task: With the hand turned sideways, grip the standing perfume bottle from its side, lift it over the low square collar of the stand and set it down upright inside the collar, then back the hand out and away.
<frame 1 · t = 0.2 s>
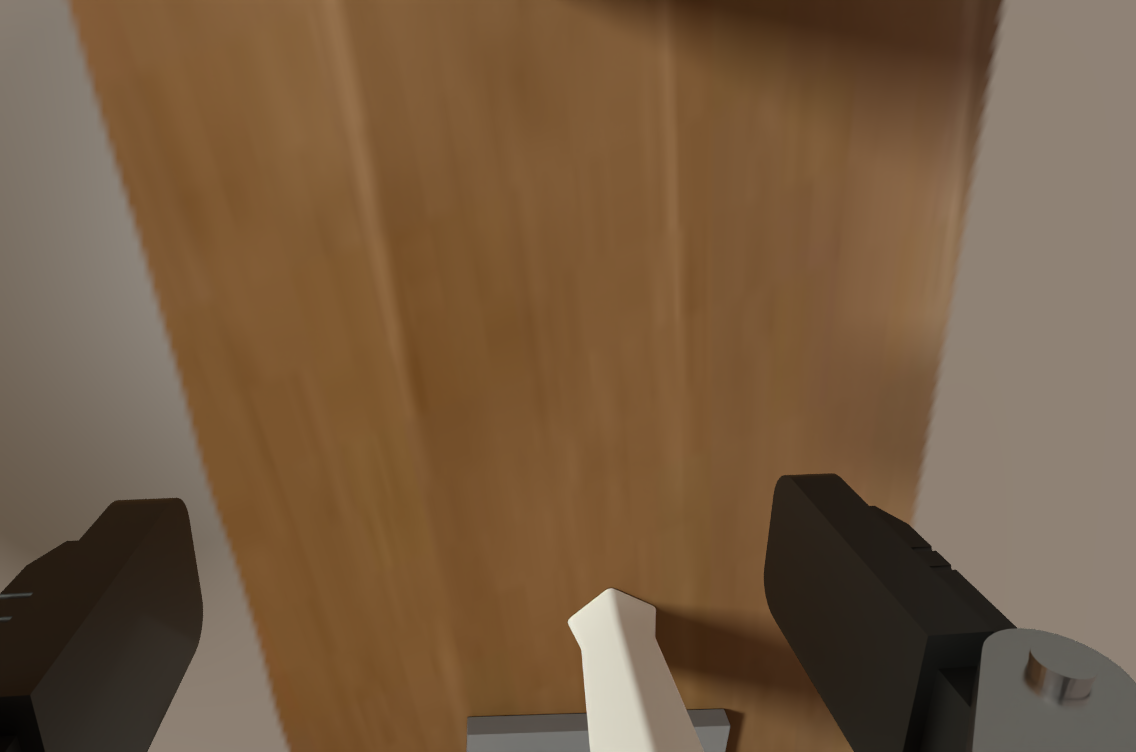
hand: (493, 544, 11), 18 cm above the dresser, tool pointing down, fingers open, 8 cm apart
perfume bottle: (607, 622, 34), on the dresser
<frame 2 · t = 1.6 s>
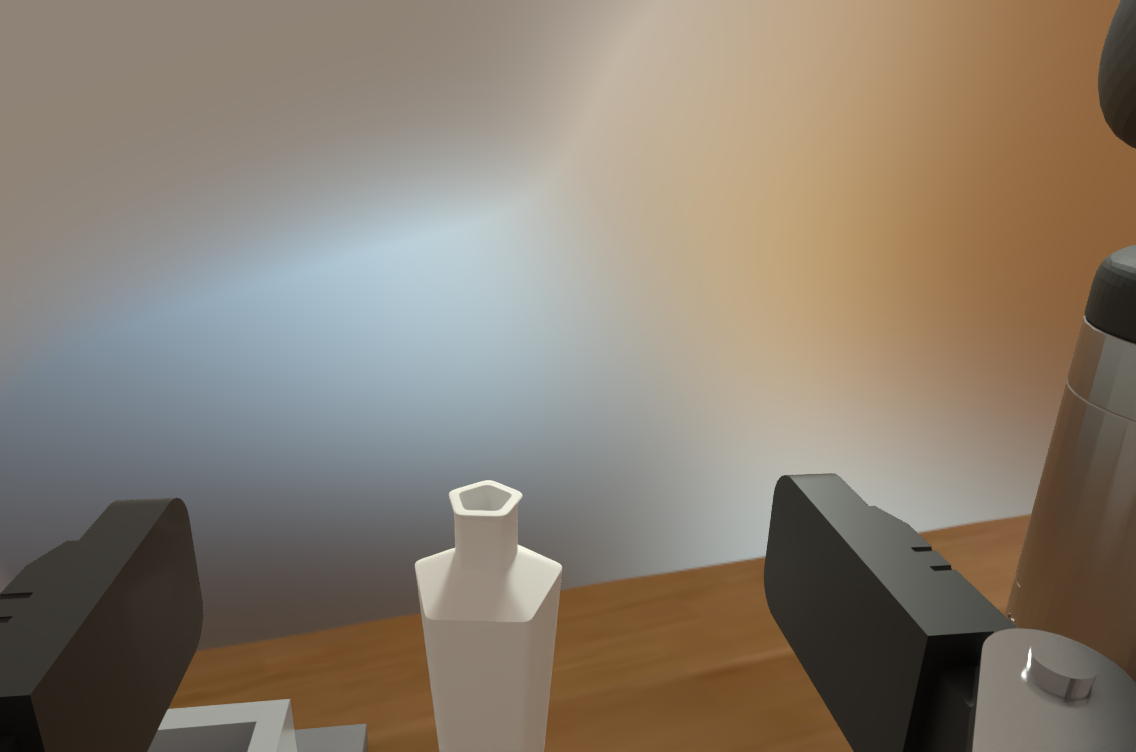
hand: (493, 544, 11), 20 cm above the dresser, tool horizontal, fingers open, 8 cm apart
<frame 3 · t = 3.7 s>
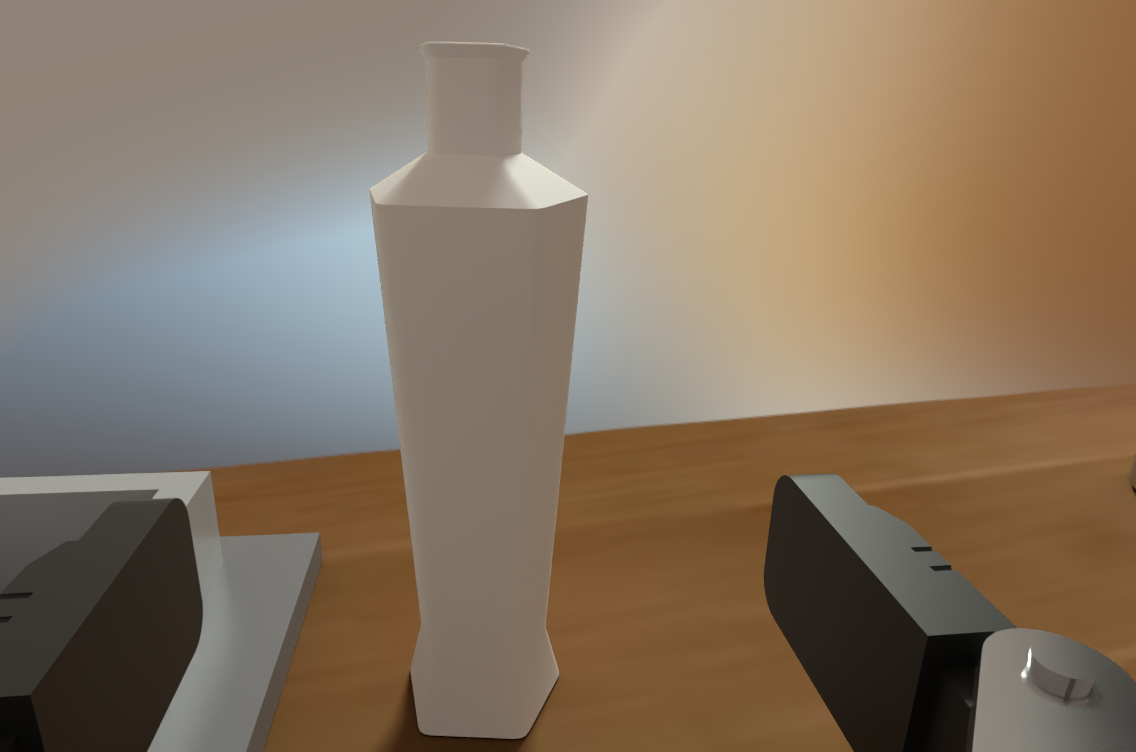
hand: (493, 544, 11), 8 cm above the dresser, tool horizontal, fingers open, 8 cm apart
perfume bottle: (483, 686, 20), on the dresser
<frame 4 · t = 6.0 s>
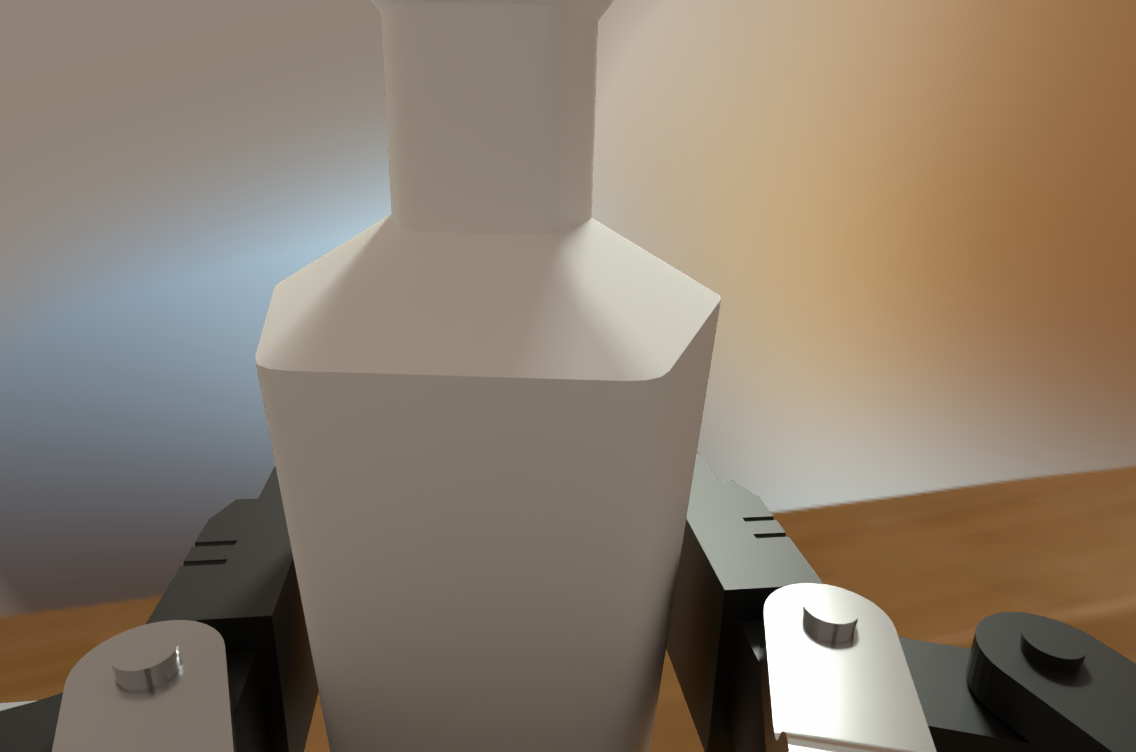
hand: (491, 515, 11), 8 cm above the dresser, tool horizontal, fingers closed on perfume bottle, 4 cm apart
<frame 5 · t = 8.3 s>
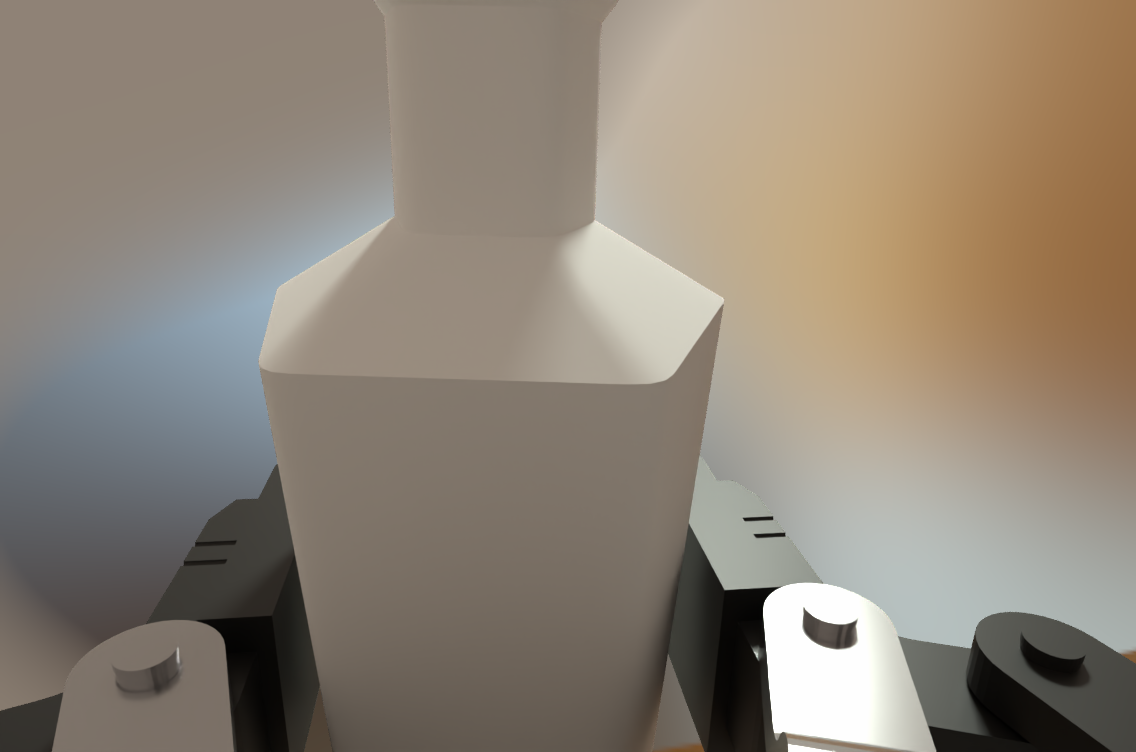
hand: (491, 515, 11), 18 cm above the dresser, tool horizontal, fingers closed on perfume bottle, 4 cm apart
when the fingers open (10 cm above the dresser, at t = 10.6 s): perfume bottle drops 1 cm, resting on collar stand.
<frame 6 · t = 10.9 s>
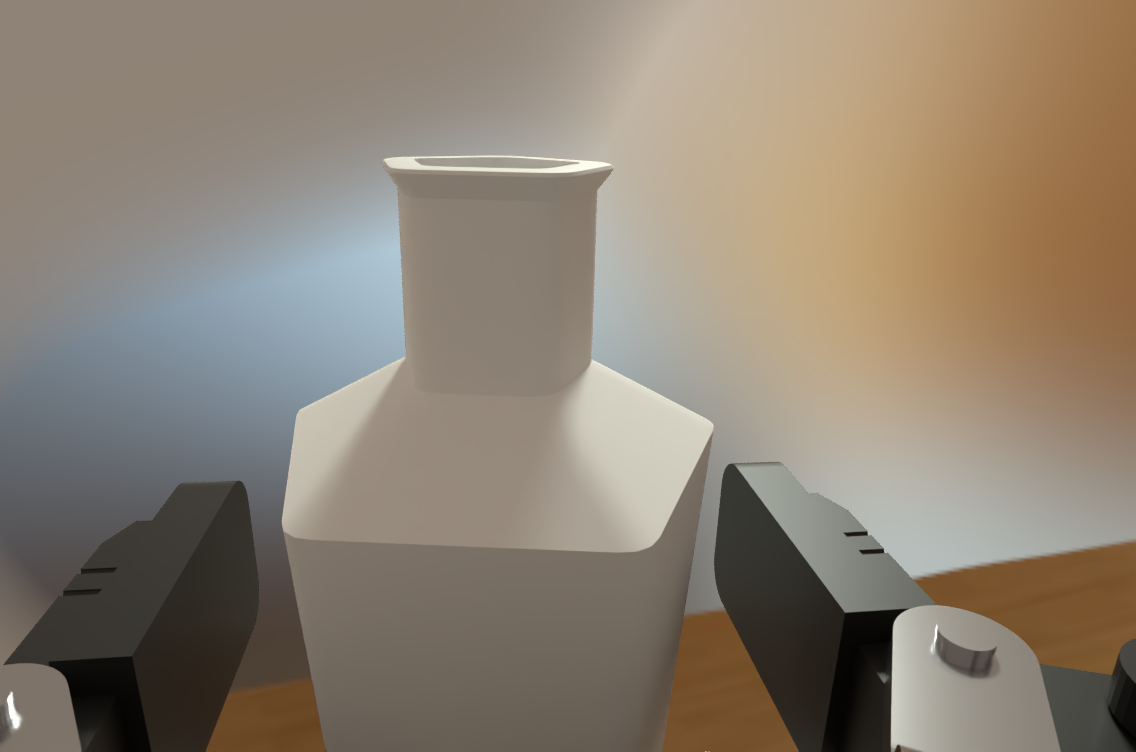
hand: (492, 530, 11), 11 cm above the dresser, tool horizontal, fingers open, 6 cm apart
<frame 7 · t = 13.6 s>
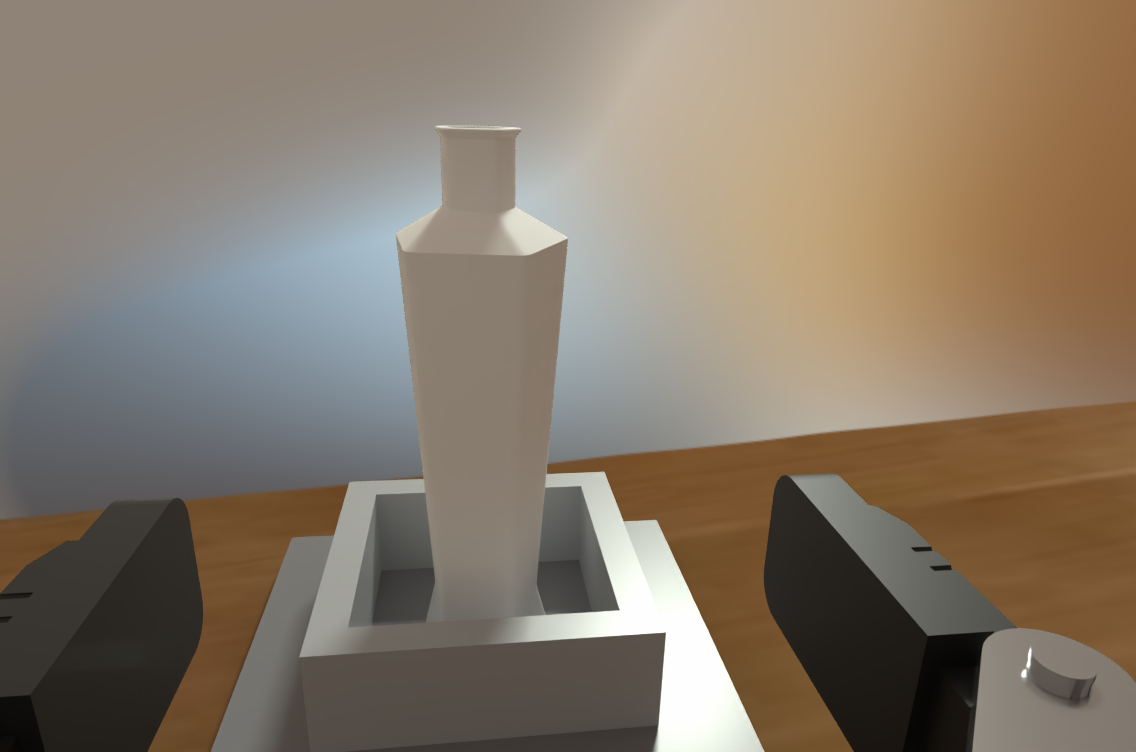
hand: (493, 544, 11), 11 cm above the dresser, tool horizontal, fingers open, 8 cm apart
perfume bottle: (485, 634, 24), point 1 cm above the dresser, touching collar stand
collar stand: (484, 654, 25), on the dresser
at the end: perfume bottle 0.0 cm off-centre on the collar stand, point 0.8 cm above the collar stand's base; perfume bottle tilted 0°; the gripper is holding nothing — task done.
